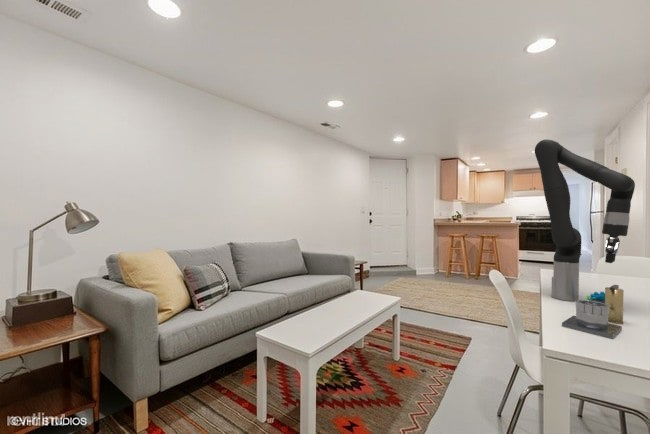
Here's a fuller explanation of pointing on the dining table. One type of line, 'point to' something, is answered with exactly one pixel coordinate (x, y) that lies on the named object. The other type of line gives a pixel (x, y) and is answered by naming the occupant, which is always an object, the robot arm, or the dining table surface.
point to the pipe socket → (592, 319)
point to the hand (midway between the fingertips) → (609, 262)
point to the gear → (597, 297)
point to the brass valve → (614, 304)
